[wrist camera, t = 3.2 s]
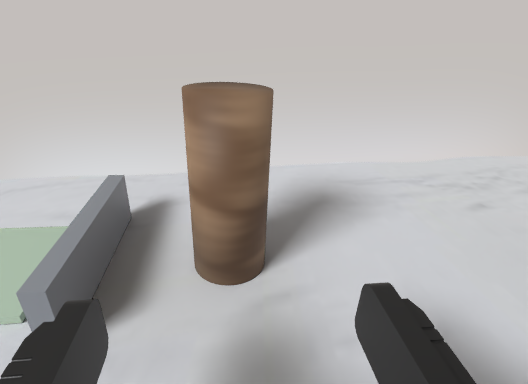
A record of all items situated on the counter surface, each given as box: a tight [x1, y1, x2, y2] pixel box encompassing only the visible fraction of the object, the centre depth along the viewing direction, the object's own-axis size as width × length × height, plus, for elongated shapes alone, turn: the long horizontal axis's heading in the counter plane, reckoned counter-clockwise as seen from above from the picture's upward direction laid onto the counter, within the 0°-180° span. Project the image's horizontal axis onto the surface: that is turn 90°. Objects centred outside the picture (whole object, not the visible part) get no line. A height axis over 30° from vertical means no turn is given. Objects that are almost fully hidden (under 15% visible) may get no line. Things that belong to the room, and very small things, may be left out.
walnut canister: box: [182, 82, 273, 285], centre depth 20 cm, size 5×5×12 cm
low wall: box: [16, 175, 131, 332], centre depth 21 cm, size 1×13×4 cm, turn 7°
